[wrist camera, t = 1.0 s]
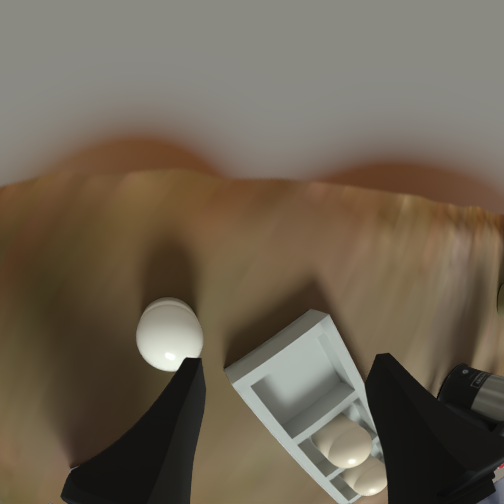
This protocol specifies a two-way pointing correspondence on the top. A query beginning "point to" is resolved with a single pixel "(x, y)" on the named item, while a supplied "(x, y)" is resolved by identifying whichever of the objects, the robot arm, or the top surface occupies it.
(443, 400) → the milk frother
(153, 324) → the egg
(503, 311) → the squeeze bottle
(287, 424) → the egg carton
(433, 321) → the top surface
